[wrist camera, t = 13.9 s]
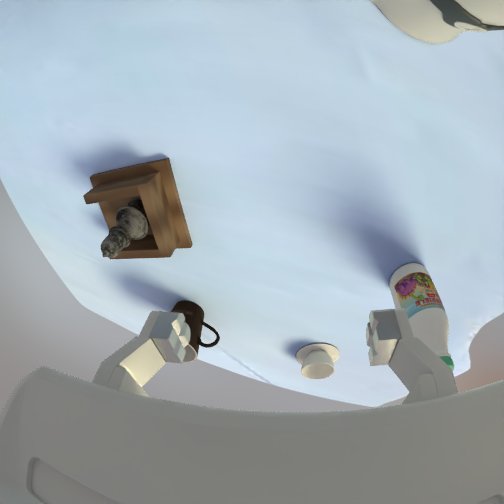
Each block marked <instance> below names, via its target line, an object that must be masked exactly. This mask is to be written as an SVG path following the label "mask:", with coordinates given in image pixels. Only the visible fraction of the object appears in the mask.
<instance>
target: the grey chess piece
mask: <svg viewBox="0 0 504 504" xmlns="http://www.w3.org/2000/svg"><path fill="white" fill-rule="evenodd" d="M115 221H116V226H114V227H112V228H111V229H110V230H109V235H108V236H107V237H106V238H105V239H104V241H103V242H102V244H101V251H102V253H103V257H109V258H114V257H116V256H117V255H118V254H119V253H120V252H121V250H122V249H123V248H125V247H127V246H129V244H130V240H131V239H134V240H139V239H142V238H143V237H145V236H146V234H147V232H148V227H149V226H150V224H149V221H148V218H147V215H146V212H145V209H144V206H143V203H142V200H141V198H134V199H132V200H131V201H130V202H129V203H128V206H124V207H121V208H120V209H119V210H118V211H117V213H116V216H115Z"/></svg>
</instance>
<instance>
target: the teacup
mask: <svg viewBox="0 0 504 504" xmlns="http://www.w3.org/2000/svg"><path fill="white" fill-rule="evenodd" d="M338 358H339V351H338V349H337V348H335V347H334V346H331V345H328V344H311V345H308V346H305V347H303V348H301V349H300V350H299V351H298V352H297V354H296V359H297V361H298V362H299V363H301V364H302V369H301V373H302V375H303V376H305V377H307V378H310V379H323V378H327V377H329V376H331V375H332V374H333V373H334V371H335V368H334V362H335V361H336V360H337V359H338Z"/></svg>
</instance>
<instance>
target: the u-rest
mask: <svg viewBox="0 0 504 504" xmlns="http://www.w3.org/2000/svg"><path fill="white" fill-rule="evenodd" d="M90 180H91V183H92V186H93V189H91V190H90V191H89V192H88V193H86V194H85V195H84V196H83V197H84V199H85V202H86V204H92V203H97V202H99V205H100V208H101V210H102V213H103V215H104V218H105V221H106V223H107V225H108V228H109V230H110V229H111V228H112V227H114V226H116V221H115V216H116V213H117V211H118V210H119V209H120V208H121V207H124V206H128V203H129V202H130V201H131V200H132V199H134V198H141V200H142V203H143V206H144V209H145V212H146V215H147V218H148V221H149V224H150V226H149V227H148V232H147V234H146V236H145V237H143V238H142V239H139V240H134V239H131V240H130V244H129V246H127V247H125V248H123V249H122V250H121V252H120V253H119V254H118V255H117V256H116V257H114V258H110V259H131V258H163V257H171V255H172V253H173V252H174V250H175V249H176V248H191V246H192V241H191V238H190V234H189V231H188V227H187V224H186V220H185V217H184V213H183V210H182V206H181V202H180V199H179V195H178V191H177V188H176V184H175V180H174V176H173V172H172V168H171V164H170V160H169V158H168V159H163V160H157V161H152V162H147V163H142V164H137V165H133V166H128V167H124V168H119V169H115V170H111V171H106V172H102V173H98V174H95V175H92V176H91V177H90Z"/></svg>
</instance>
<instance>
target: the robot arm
mask: <svg viewBox="0 0 504 504" xmlns="http://www.w3.org/2000/svg"><path fill="white" fill-rule="evenodd" d="M370 1H371V2H373V3H374V4H375V5H376V6H377V7H378V8H379V9H380V10H381V11H382V13H383V14H384V15H385V16H386V17H387V18H388V19H389V20H390V21H391V22H392V23H393V24H394V25H395V26H396V27H398V28H399V29H400V30H402V31H403V32H405V33H407V34H408V35H410V36H412V37H414V38H416V39H419V40H421V41H425V42H429V43H445V42H448V41H451V40H453V39H454V38H456V37H457V36H458V35H459V34H460V33H463V32H465V31H470V32H487V31H491V30H504V0H370ZM369 319H370V322H369V323H368V324H367V329H366V340H367V345H368V346H369V347H370V349H369V353H368V354H369V360H370V366H375V365H389V367H390V368H391V369H392V370H393V371H394V373H395V374H396V375H397V376H398V378H399V379H400V380H401V381H402V383H403V384H404V385H405V386H406V388H407V389H408V390H409V394H408V395H407V397H406V398H405V400H404V401H403V403H402V405H395V406H388V407H380V408H371V409H361V410H350V411H349V410H348V411H331V412H265V411H248V410H234V409H224V408H215V407H206V406H199V405H192V404H185V403H179V402H173V401H167V400H162V399H157V398H152V397H148V395H147V393H146V392H145V391H144V390H143V389H142V386H143V385H144V384H145V383H146V382H147V381H148V380H149V379H150V378H151V377H152V376H153V375H154V374H155V373H156V372H157V371H158V370H159V369H160V368H161V367H162V366H163V365H164V364H165V363H166V362H173V363H182V362H183V359H184V356H185V353H186V351H185V349H184V347H186V346H187V345H188V344H189V341H190V334H191V333H190V328H189V325H188V324H187V323H185V322H184V320H185V317H184V315H183V313H175V312H163V311H162V312H161V311H152V312H151V313H150V314H149V316H148V318H147V320H146V322H145V325H144V327H143V329H142V331H141V333H140V335H139V337H135V338H134V339H132V340H131V341H130V342H128V343H127V344H126V345H124V346H123V347H122V348H120V349H119V350H117V351H116V352H115V353H114V354H112V355H111V356H109V357H108V358H107V359H105V360H104V361H103V362H102V363H101V365H100V367H99V369H98V371H97V373H96V375H95V377H94V379H93V381H92V382H89V381H85V380H83V379H79V378H77V377H74V376H71V375H68V374H64V373H62V372H59V371H56V370H54V369H51V368H49V367H45V366H42V367H39V368H37V369H36V370H34V371H32V372H31V373H29V374H28V375H26V376H25V377H24V378H22V379H21V380H20V381H19V382H18V384H17V385H16V387H15V388H14V390H13V391H12V393H11V395H10V396H9V398H8V400H7V402H6V404H5V405H4V407H3V409H2V411H1V413H0V504H504V380H501V381H498V382H495V383H492V384H489V385H486V386H482V387H479V388H476V389H472V390H468V391H465V392H461V393H458V391H457V387H456V383H455V379H454V375H453V372H452V369H451V368H450V367H449V366H448V365H447V364H446V363H445V362H444V361H443V360H442V359H441V358H440V357H438V356H437V355H436V354H435V353H434V352H433V351H432V350H431V349H430V348H428V347H427V346H426V345H425V344H424V343H423V342H422V341H421V340H420V339H418V338H417V337H415V338H414V335H413V332H412V329H411V325H410V322H409V319H408V316H407V313H406V310H405V309H404V308H399V309H386V310H374V311H371V312H370V315H369Z"/></svg>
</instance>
